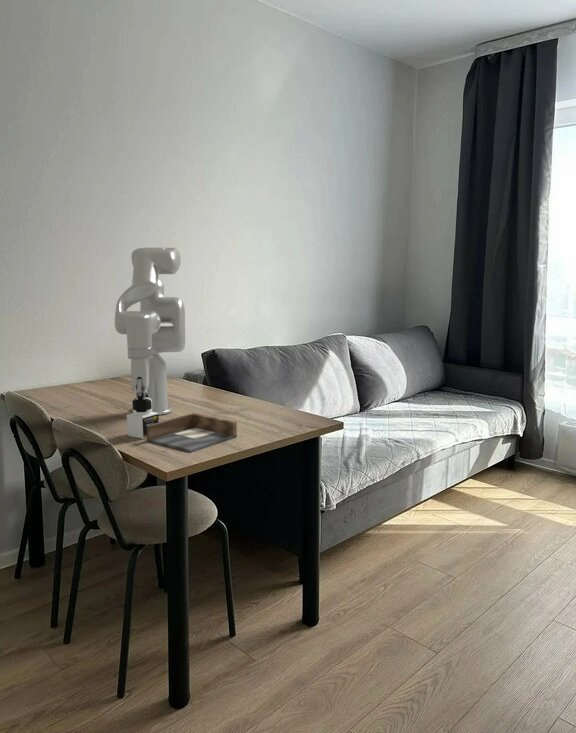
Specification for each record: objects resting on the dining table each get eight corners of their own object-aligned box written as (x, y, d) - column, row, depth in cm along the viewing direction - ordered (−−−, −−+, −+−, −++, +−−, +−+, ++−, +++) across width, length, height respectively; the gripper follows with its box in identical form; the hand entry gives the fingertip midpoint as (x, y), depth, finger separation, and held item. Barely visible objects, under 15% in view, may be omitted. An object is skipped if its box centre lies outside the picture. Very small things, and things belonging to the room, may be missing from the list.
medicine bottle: (143, 439, 196) (142, 401, 193) (127, 436, 199) (125, 399, 197) (159, 434, 201) (158, 397, 199) (143, 431, 205) (141, 395, 203)
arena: (147, 441, 193) (146, 425, 192) (194, 427, 209) (193, 413, 208) (190, 452, 182) (190, 435, 181) (236, 437, 198) (236, 421, 197)
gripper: (130, 349, 204) (133, 403, 207) (124, 357, 187) (127, 416, 190) (154, 349, 205) (156, 402, 208) (150, 357, 188) (152, 415, 191)
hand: (142, 408), depth 199 cm, fingers closed on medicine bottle, 6 cm apart
